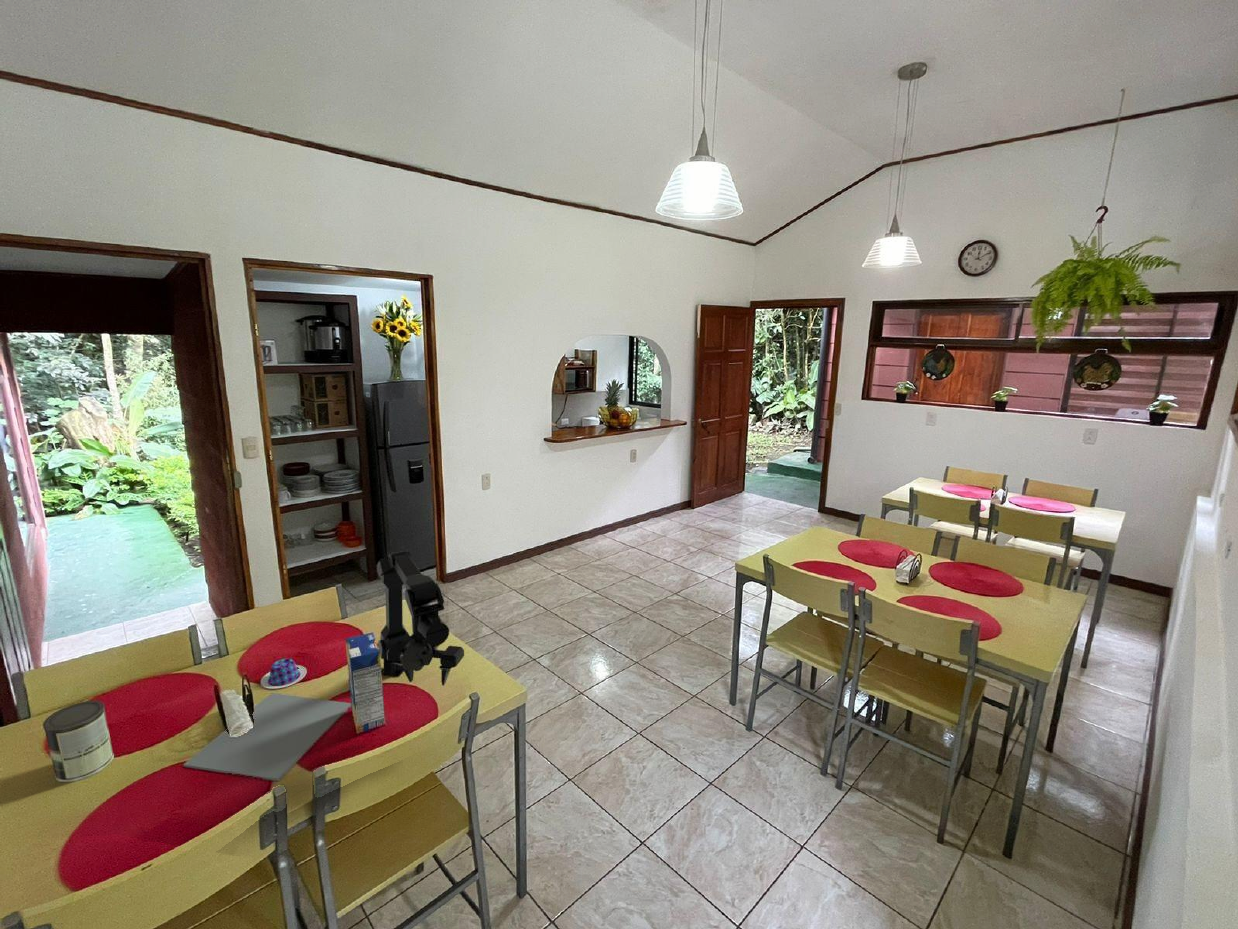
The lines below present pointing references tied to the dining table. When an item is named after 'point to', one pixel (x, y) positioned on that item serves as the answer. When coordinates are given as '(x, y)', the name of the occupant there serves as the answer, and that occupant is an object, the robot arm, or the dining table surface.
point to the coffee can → (78, 741)
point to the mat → (271, 737)
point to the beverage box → (365, 682)
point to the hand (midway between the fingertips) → (427, 683)
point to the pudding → (283, 674)
